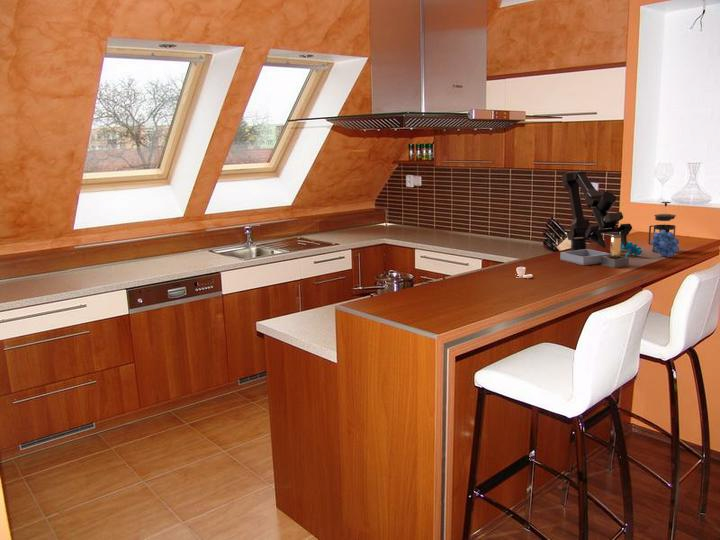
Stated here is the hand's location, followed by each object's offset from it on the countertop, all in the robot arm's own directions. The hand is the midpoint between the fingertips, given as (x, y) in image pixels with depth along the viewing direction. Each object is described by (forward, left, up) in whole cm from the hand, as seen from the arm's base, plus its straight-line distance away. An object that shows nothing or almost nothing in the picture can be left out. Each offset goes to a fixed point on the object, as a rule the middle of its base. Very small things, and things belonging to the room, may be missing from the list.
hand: (615, 246), depth 254 cm
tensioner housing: (0, 0, -8) cm, 8 cm away
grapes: (-2, +30, -8) cm, 31 cm away
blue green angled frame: (-12, +20, -8) cm, 24 cm away
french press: (-13, +40, -8) cm, 43 cm away
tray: (-14, -3, -8) cm, 17 cm away
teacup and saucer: (-1, -47, -9) cm, 48 cm away
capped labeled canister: (0, 0, -8) cm, 8 cm away
